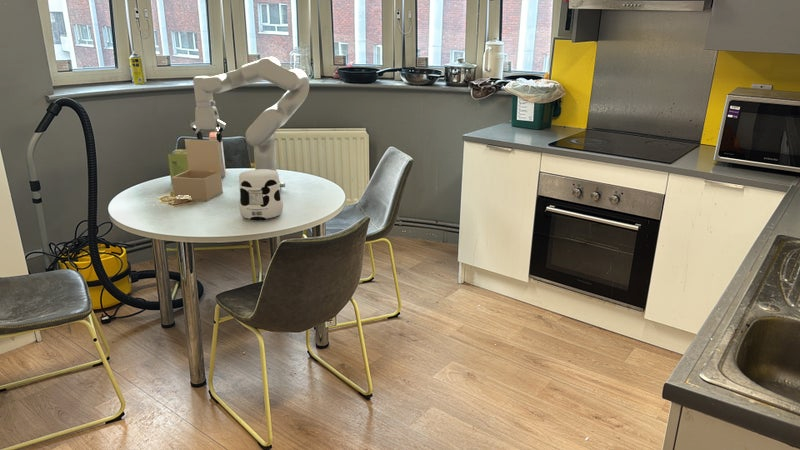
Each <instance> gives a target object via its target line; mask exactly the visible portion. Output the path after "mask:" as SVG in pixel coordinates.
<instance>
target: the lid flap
mask: <svg viewBox="0 0 800 450" xmlns="http://www.w3.org/2000/svg"><path fill="white" fill-rule="evenodd" d="M184 145H185V146H184V147H185V150H186V154H187V161H188V169H189V170H202V171H222V168H221V160H220V151H219V142H218V141H215V140H209V139H203V140H198V139H189V138H187V139H186V138H184Z"/></svg>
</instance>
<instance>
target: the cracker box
mask: <svg viewBox="0 0 800 450" xmlns="http://www.w3.org/2000/svg"><path fill="white" fill-rule="evenodd" d="M216 134H217V132H216V131H211V132H209V136H208V140H215V141H217V136H216ZM219 151H220V160H221V168H222V171H220V172H221V178H225V177H226V164H225V163H226V162H225V154H224V145H223V140H222V141H221V142H219Z"/></svg>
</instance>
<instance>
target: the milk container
mask: <svg viewBox="0 0 800 450" xmlns="http://www.w3.org/2000/svg"><path fill="white" fill-rule="evenodd" d="M279 182H280V178H279V173H278V171H277V170H276V171H275V170H268V169H257V170H255V169H249V170H246V171H242V172H240V173H239V175H238V183H239V186H238V187H239V195H240V197H239V201H238V202H239V203H238V209H239V214H240V215H241V217H242V218H244V219H246V220H249V221H253V222H254V221H255V222H261V221H262V222H263V221H269V220H273V219H275V218H278V217H280V216H281V215H282V214H283V212H284V202H283V198H282V196H281V189H280V184H279Z"/></svg>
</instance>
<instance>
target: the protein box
mask: <svg viewBox="0 0 800 450" xmlns="http://www.w3.org/2000/svg"><path fill="white" fill-rule="evenodd" d="M167 158H168V166H169V174H170V175H169V176H170V184H171V186H173V184H172V177H174V176H176V175H178V174H181V173H183V172H185V171H187V170H189V169H188V161H187V154H186V149H174V150H173V151H171V152H169V153H168V154H167ZM201 171H202V170H201Z"/></svg>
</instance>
